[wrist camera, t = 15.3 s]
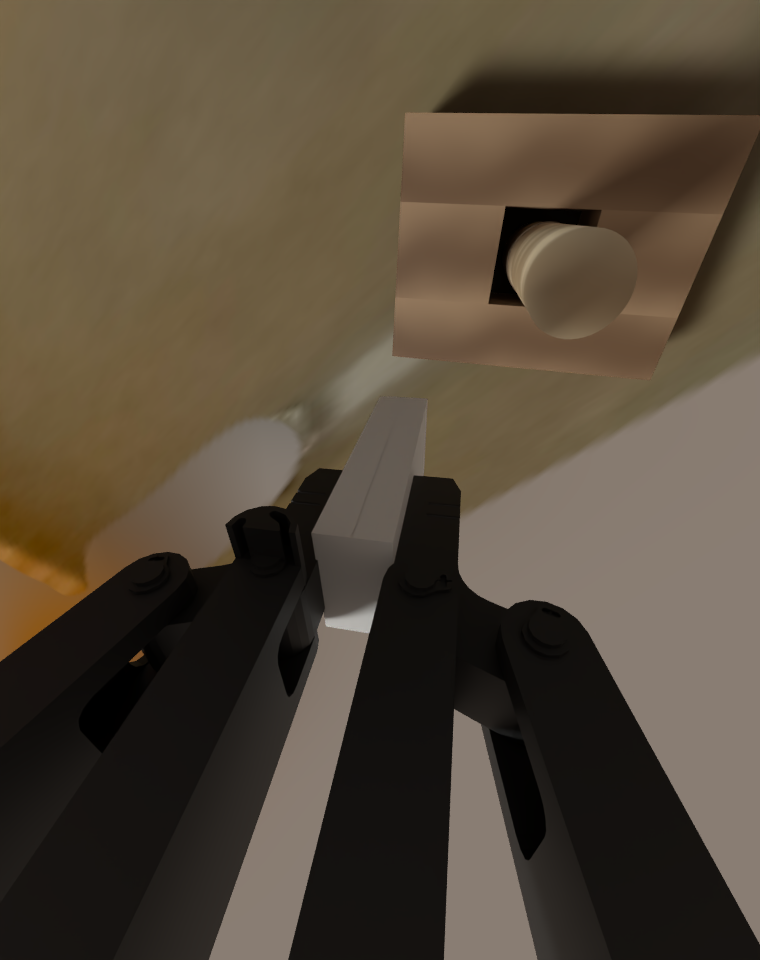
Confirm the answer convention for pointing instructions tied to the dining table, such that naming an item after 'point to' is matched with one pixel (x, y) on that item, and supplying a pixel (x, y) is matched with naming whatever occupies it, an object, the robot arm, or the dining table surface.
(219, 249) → the dining table surface
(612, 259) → the dowel
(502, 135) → the board
